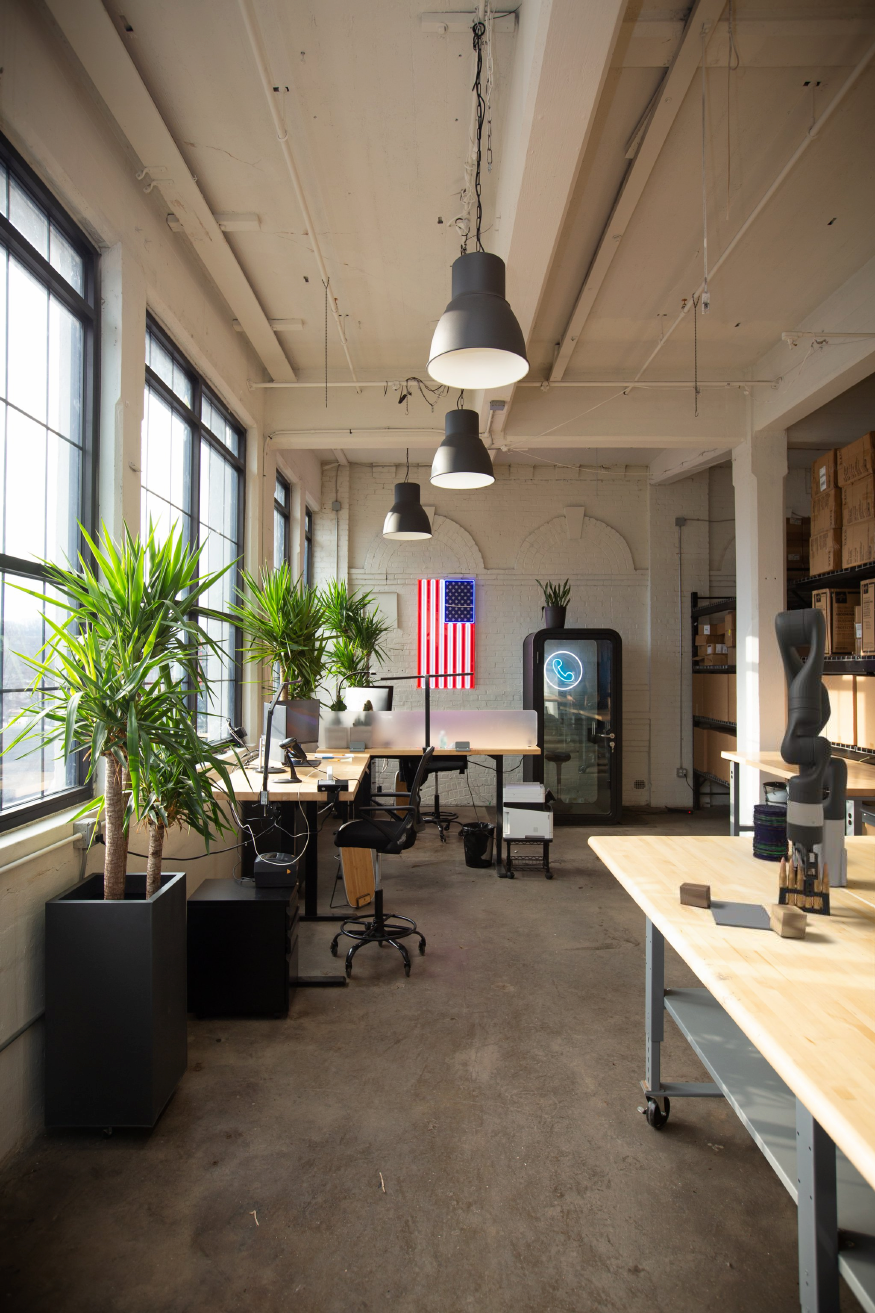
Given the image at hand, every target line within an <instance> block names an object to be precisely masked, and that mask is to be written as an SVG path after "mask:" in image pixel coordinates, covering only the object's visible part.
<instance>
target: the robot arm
mask: <svg viewBox="0 0 875 1313" xmlns="http://www.w3.org/2000/svg"><path fill="white" fill-rule="evenodd" d="M823 612H824V611H823V610H821V608H817V607H816V608H815V607H814V608H804V609H794V610H784V611H780V612H778V613H777V614H776V616H775V618H774V629H775V630H774V631H775V635H776V640H777V641H776V642H777V644H778V648H779V649H778V650H779V653H780V658H781V660H782V664H783V669H784V673H785V680H786V688H787V696H788V697H787V698H788V700H787V702H788V707H787V708H788V717H787V719H788V720H787V725H786V730H785V733H784V736H783V739H782V742H781V745H780V757H781V758H782V760H783V761H784V763H786V764H788V765H792V766H798V767H797V768H798V773H799V774H795V775H792V776H790V777H789V779H788V800H787V801H788V802H787V806H786V808H787V839H788V841H789V842H791V858H793V861H794V867H795V886H796V876H797V868H798V863H799V869H800V870H801V871H802V875H803V895H804V896H805V897H812V898H813V897H814V886H815V881H816V880H818V862H819V866H820V878H821V886H822V876H823V867H824V863H825V862H827V865H828V870H829V881H830V887H847V886H848V885H847V881H848V879H847V878H848V871H847V870H848V849H847V848H845V845H846V844H845V840H846V838H845V836H846V835H845V834H846V809H847V808H846V806H847V787H848V776H849V773H848V765H847V762H846V760H845V759H844V758H842V757H838V756H837V757H836V756H832V753H833V746H832V743H831V742H830V740H829V739H828V738H827V737H825V736H821V735H820V734H821V733H822V731H823V729H825V727H826V725H827V723H829V720H830V718H831V714H832V708H831V703H830V702H831V701H830V695H829V690H828V688H827V686H826V685H825V683H824V682H823V674H824V672H823V671H824V664H825V654H826V646H827V643H826V642H827V624H826V618H825V614H824V613H823ZM796 647H810V648H809V654H808V657H807V659H806V661H805V662H803V661H802V659H801V657H800V656H799V653H798V651H797V649H796ZM823 792H828V793H829V794H828V796H827V798H826V799H825V798H824V799H823ZM808 871H811V873H812V874H808Z"/></svg>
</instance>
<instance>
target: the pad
mask: <svg viewBox="0 0 875 1313" xmlns="http://www.w3.org/2000/svg"><path fill="white" fill-rule="evenodd" d="M708 907H709V910H710V912H711V915H712V917H713V920H714V924H715V925H719V926H728V927H734V928H735V927H736V928H744V929H745V928H746V929H755V930H762V931H773V932H774V930H773V929H772V928H771V927H770V919H771V917H770V915H768V913H767V911H766V910H765V908H764V907H763V905H762V904H756V903H745V902H734V901H725V900H724V901H723V900H714V899H711V903H710V904H709V905H708Z"/></svg>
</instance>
